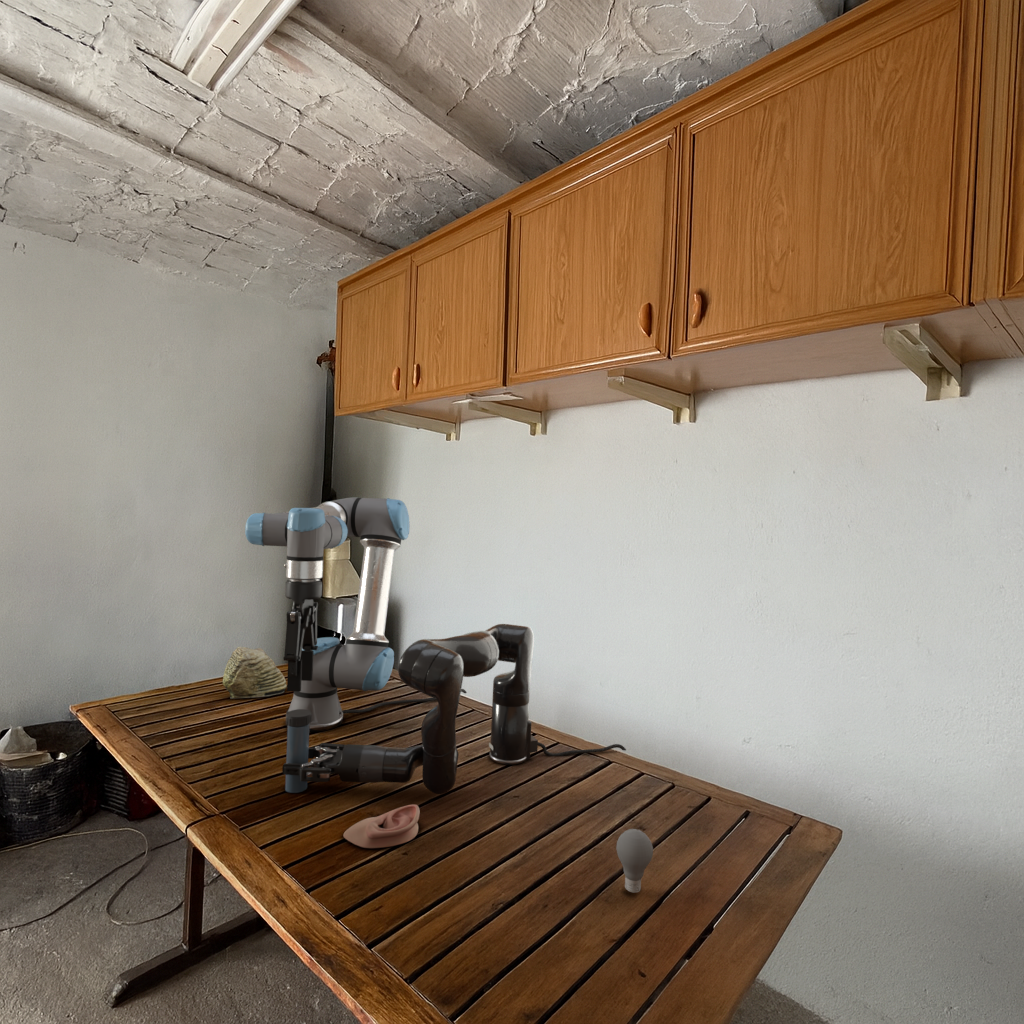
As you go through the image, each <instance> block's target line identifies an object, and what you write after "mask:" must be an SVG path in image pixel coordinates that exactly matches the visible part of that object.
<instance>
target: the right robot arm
mask: <svg viewBox="0 0 1024 1024" xmlns="http://www.w3.org/2000/svg"><path fill="white" fill-rule="evenodd" d="M534 648H535V633H534V631H533V629H532V627H530V626H525V625H520V624H519V625H518V624H509V623H497V624H495V625H492V626H491V627H489V628H487V629H485V630H479V631H478V630H477V631H472V632H467V633H464V634H461V635H455V636H450V637H446V638H423V639H422V638H421V639H418V640H416V641H415V642H413V643H412V644H410V645H409V646H407V648H406V649H405V650H404V651H403V653H402V655H401V656H400V659H399V661H398V665H397V673H398V676H399V678H400V680H401V681H402V683H404V684H405V685H406V686H408V687H409V688H410V689H413V690H416V691H417V692H420V693H422V694H423V695H426V696H428V697H429V698H436V699H437V700H436V701H437V704H436V705H435V706H434V707H432V708H431V709H430V710H429V711H428V712H427V713H426V714H425V716H424V718H423V720H422V722H421V728H420V735H421V744H420V745H419V744H418V745H413V746H409V747H388V746H382V745H372V744H371V745H370V744H350V743H347V744H341V743H327V742H321V743H320V744H319V745H316V746H314V747H311V746H309V756H308V759H311V760H310V761H308V763H304V764H301V763H286V762H284V763H283V764H282V767H281V770H282V771H281V773H282V774H283V775H285V776H286V775H300V781H306V782H307V783H308V782H311V783H313V782H318V783H327V782H330V779H331V776H333V775H338V776H339V780H340V781H341V782H344V783H345V782H346V783H367V784H375V783H397V784H405V783H408V782H410V781H411V780H412V778H413V775H414V774H415V772H416V770H417V769H418V768H419V767H422V775H421V777H422V783H423V785H424V787H425V788H426V790H428V791H429V792H431V793H433V794H435V795H443V794H446V793H448V792H449V791H451V790H452V789H453V787H454V786H455V784H456V781H457V773H458V762H459V750H458V748H457V732H456V730H457V729H456V723H457V721H456V720H457V714H458V709H459V704H460V699H461V693H462V692H461V689H463V688H462V687H463V682H464V678H470V677H471V678H472V677H476V676H480V675H482V674H485V673H487V672H489V671H490V670H492V669H493V668H494V667H495V666H496V665H497V663H498V662H503V663H505V662H506V663H512V664H515V665H514V669H513V670H511V671H508V672H502V673H499V674H497V675H496V676H494V677H493V681H492V700H491V701H492V702H491V703H492V704H491V705H492V706H491V725H490V741H489V742H488V747H489V759H490V760H491V761H493V762H495V763H497V764H501V765H508V766H509V765H519V764H523V763H525V762H526V761H528V760H529V761H530V760H531V754H532V753H537V752H538V747H540V748H541V749H542V752H543V754H544V755H545V756H547V757H563V756H568V755H576V754H577V755H578V754H594V753H595V754H596V753H603V752H606V751H609V750H612V749H617V748H618V749H620V750H622V751H627V749H626V747H625V746H623V745H622V744H619V743H614V744H611V745H608V746H605V747H601V748H590V749H589V748H588V749H573V750H566V751H562V752H557V753H554V752H549V751H547V747H546V745H545V744H544V743H542V742H539V741H538V739H537V738H536V737H535V736H533V735H532V721H531V719H529V718H530V717H529V716H530V693H531V692H530V691H531V679H532V672H533V670H532V668H533V660H534V659H533V658H534Z"/></svg>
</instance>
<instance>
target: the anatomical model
mask: <svg viewBox="0 0 1024 1024" xmlns="http://www.w3.org/2000/svg"><path fill="white" fill-rule="evenodd" d="M420 814H421V813H420V807H419V805H417V804H408V805H404V806H400V807H397V808H395V809H392V810H390V811H388V812H385V813H383V814H380V815H378V816H372V817H367V818H364V819H361V820H360V821H358V822H356V823H354V824H353V825H351V826H350V827H348V828H347V829H346V830H345V831H344V833H343V835H342V836H343V838H344V839H345V840H346V841H348V842H349V843H352V844H353V845H355V846H358V847H360V848H364V849H380V848H388V847H395V846H399V845H402V844H405V843H407V842H410V841H412V840H414V839H415V838H416V836H417V835H418V832H419V823H418V821H419V819H420Z"/></svg>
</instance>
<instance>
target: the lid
mask: <svg viewBox="0 0 1024 1024" xmlns="http://www.w3.org/2000/svg"><path fill="white" fill-rule="evenodd" d="M311 715H312V714H311V711H309V710H305V709H297V710H292V711H289V712H288V713H287V716H285V725H286V724H287V725H288V726H292V727H301V726H306V725H308V724H310V723H311Z"/></svg>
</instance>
